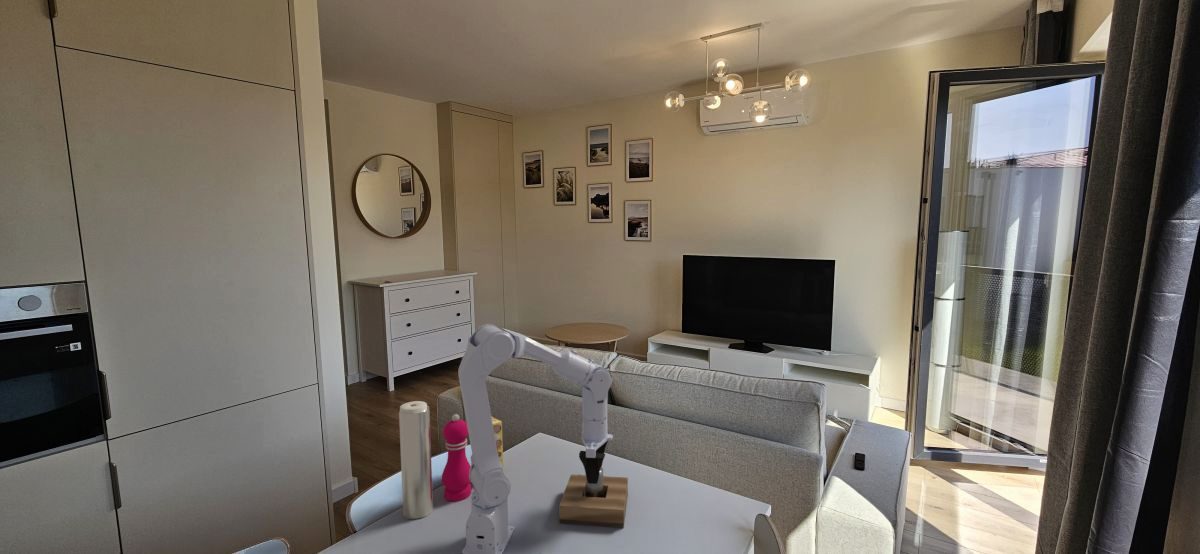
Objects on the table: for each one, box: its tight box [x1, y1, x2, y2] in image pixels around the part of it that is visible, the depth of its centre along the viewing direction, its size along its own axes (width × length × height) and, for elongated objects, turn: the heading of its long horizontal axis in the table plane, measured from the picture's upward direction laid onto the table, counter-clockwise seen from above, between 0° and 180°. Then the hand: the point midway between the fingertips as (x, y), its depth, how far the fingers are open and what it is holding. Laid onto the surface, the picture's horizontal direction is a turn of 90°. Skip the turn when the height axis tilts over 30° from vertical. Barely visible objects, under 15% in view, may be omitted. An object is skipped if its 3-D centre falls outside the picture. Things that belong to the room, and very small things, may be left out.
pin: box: [586, 467, 604, 498], centre depth 110 cm, size 4×4×8 cm
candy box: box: [491, 415, 504, 468], centre depth 125 cm, size 9×4×15 cm, turn 44°
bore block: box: [558, 474, 629, 529], centre depth 110 cm, size 14×14×4 cm
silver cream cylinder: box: [398, 400, 434, 520], centre depth 108 cm, size 6×6×25 cm
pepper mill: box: [441, 413, 472, 502], centre depth 116 cm, size 7×7×20 cm
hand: (595, 474), depth 110 cm, fingers open, 7 cm apart
